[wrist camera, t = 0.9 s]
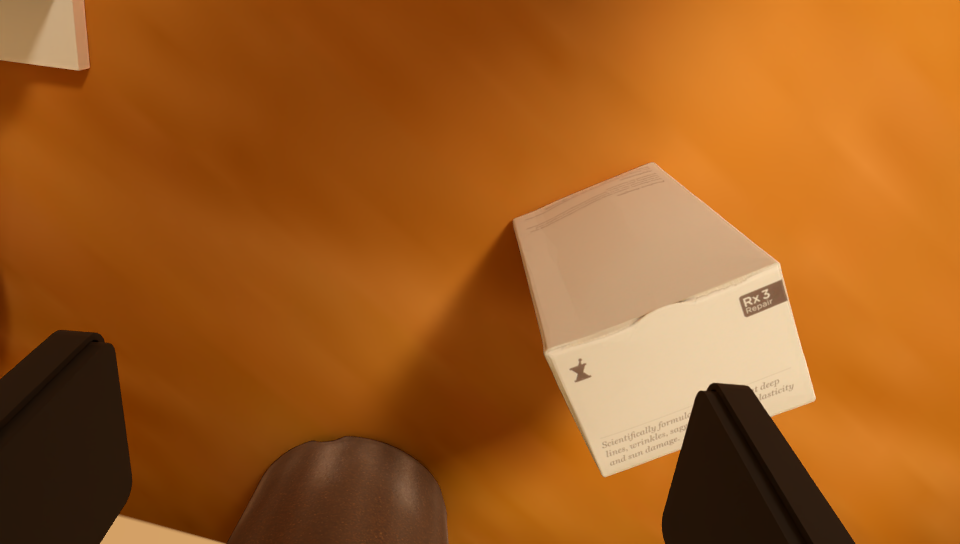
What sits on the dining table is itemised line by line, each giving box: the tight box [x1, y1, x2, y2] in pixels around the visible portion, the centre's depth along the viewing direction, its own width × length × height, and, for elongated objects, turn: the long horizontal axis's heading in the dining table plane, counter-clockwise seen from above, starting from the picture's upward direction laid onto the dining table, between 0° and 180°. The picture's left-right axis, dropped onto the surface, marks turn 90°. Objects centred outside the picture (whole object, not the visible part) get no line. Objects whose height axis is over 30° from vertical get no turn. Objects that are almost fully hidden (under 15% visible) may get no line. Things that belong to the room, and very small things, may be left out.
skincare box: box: [513, 162, 816, 477], centre depth 29 cm, size 8×6×15 cm
